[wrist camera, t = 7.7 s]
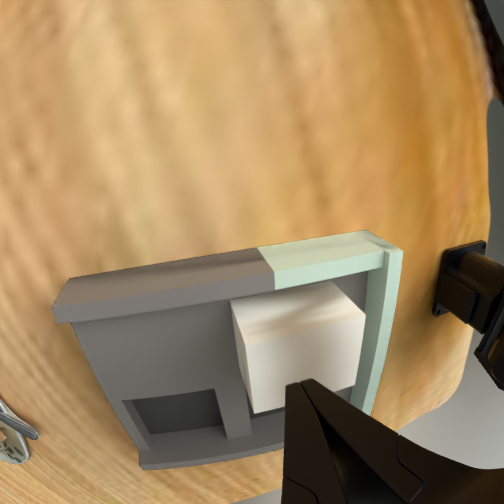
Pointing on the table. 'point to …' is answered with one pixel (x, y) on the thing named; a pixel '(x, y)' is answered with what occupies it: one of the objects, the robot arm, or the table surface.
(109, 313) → the box
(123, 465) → the table surface
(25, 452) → the salad plate
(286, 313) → the cream block
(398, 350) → the table surface
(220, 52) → the table surface
